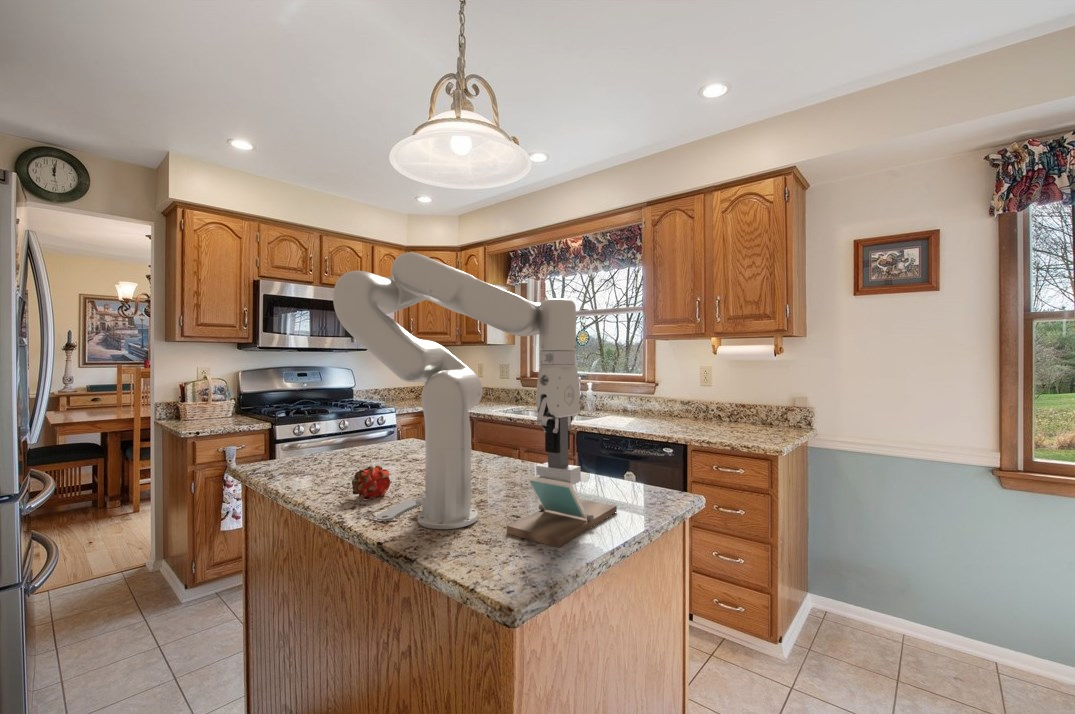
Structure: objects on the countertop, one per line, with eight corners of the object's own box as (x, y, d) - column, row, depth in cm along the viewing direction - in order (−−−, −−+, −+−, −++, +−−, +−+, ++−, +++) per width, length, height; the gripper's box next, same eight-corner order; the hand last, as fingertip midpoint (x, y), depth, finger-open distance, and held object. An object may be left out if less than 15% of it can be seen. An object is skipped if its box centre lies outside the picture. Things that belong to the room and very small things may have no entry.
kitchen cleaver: (429, 487, 124) (459, 490, 119) (429, 491, 124) (459, 495, 119) (351, 515, 103) (384, 520, 98) (351, 520, 103) (385, 525, 98)
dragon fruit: (351, 512, 111) (383, 504, 122) (378, 492, 109) (407, 487, 121) (336, 480, 113) (369, 475, 125) (363, 460, 112) (393, 458, 123)
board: (505, 533, 93) (505, 519, 93) (568, 502, 113) (568, 491, 113) (560, 547, 86) (560, 532, 86) (618, 513, 106) (618, 500, 106)
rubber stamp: (570, 485, 93) (569, 413, 93) (536, 480, 97) (535, 411, 98) (580, 481, 96) (579, 411, 96) (547, 476, 101) (546, 410, 101)
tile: (546, 506, 103) (544, 510, 102) (529, 475, 97) (527, 479, 97) (587, 515, 97) (585, 519, 96) (571, 483, 92) (569, 487, 91)
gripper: (551, 360, 88) (551, 460, 88) (592, 360, 101) (593, 446, 101) (518, 360, 92) (518, 455, 92) (562, 360, 106) (563, 443, 106)
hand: (557, 449), depth 97 cm, fingers closed on rubber stamp, 3 cm apart
